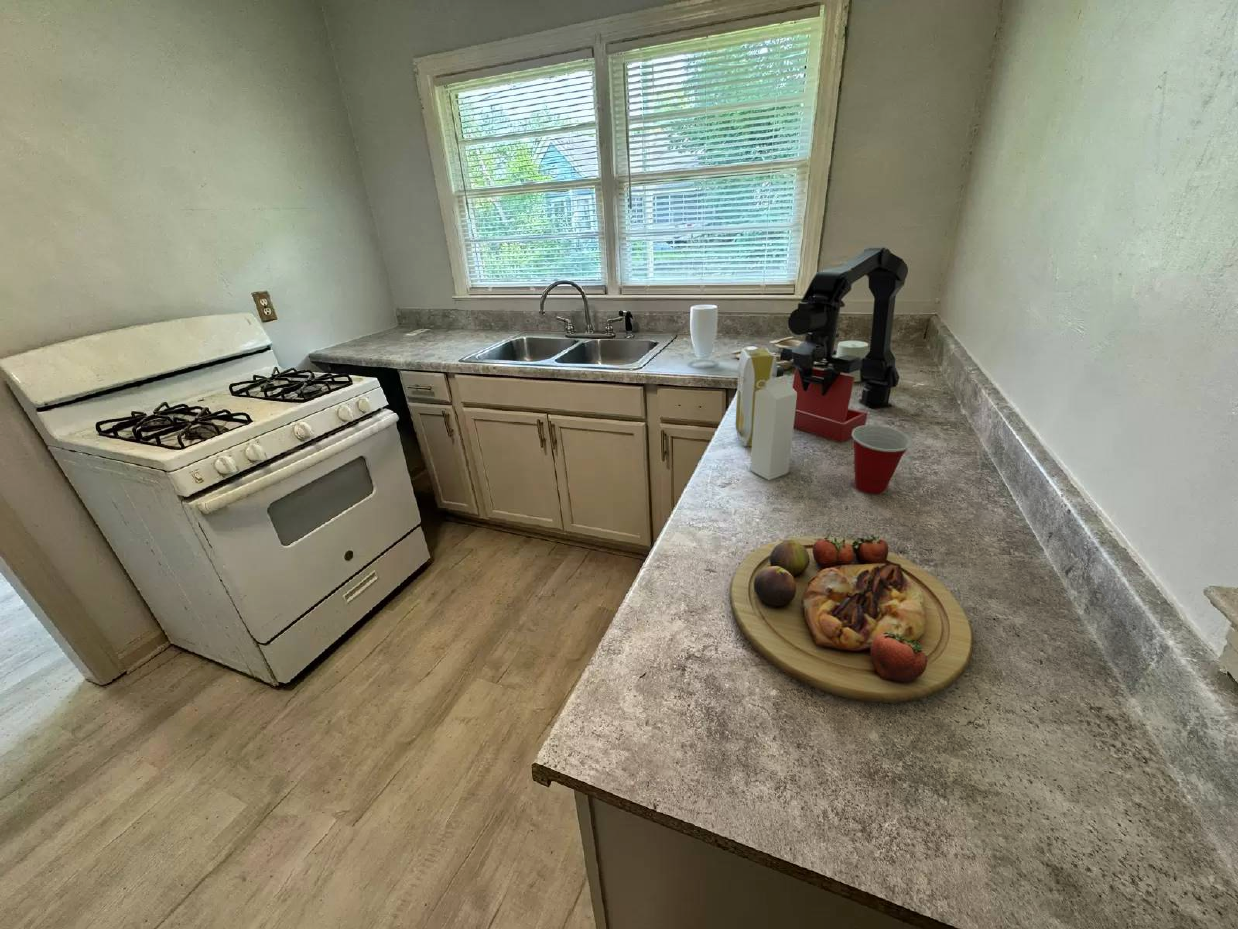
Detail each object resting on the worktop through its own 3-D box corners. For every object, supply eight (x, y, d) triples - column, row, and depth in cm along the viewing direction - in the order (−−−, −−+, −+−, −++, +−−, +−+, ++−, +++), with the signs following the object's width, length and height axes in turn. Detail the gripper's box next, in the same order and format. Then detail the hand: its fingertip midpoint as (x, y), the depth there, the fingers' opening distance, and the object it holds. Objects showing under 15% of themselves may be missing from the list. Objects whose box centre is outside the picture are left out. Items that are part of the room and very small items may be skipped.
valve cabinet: (811, 415, 139) (813, 398, 137) (864, 430, 128) (867, 413, 126) (787, 425, 134) (789, 408, 132) (841, 442, 122) (843, 424, 120)
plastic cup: (876, 507, 96) (887, 451, 91) (831, 484, 105) (839, 432, 99) (912, 491, 100) (925, 437, 95) (866, 470, 109) (876, 420, 104)
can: (832, 381, 163) (837, 345, 158) (833, 373, 171) (838, 338, 166) (863, 383, 160) (869, 346, 155) (862, 374, 168) (868, 339, 162)
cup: (720, 362, 192) (722, 304, 182) (710, 369, 184) (711, 309, 174) (696, 359, 197) (696, 303, 187) (684, 366, 189) (684, 308, 179)
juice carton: (733, 433, 131) (737, 343, 120) (762, 432, 131) (769, 341, 120) (741, 448, 123) (746, 353, 112) (773, 446, 122) (781, 351, 112)
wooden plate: (1022, 723, 56) (1046, 672, 52) (733, 694, 61) (736, 646, 57) (917, 550, 84) (928, 509, 80) (726, 541, 89) (728, 502, 85)
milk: (788, 473, 110) (800, 378, 100) (768, 480, 108) (778, 384, 98) (768, 463, 115) (777, 371, 105) (749, 470, 113) (756, 376, 102)
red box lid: (798, 364, 127) (786, 366, 124) (855, 376, 116) (844, 378, 113) (790, 406, 132) (779, 409, 129) (845, 422, 120) (834, 426, 117)
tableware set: (725, 355, 200) (726, 345, 198) (784, 344, 209) (785, 334, 208) (783, 376, 171) (784, 365, 169) (848, 363, 180) (849, 352, 178)
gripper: (768, 328, 118) (762, 391, 124) (841, 339, 104) (829, 409, 111) (797, 322, 124) (789, 382, 130) (869, 332, 110) (856, 399, 117)
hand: (814, 393), depth 122 cm, fingers closed on red box lid, 5 cm apart
